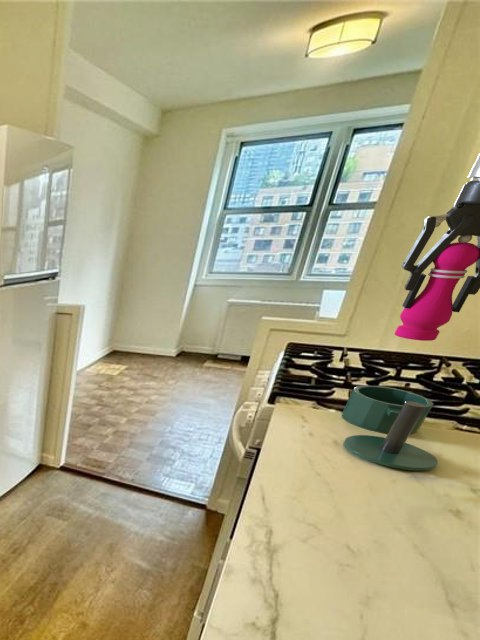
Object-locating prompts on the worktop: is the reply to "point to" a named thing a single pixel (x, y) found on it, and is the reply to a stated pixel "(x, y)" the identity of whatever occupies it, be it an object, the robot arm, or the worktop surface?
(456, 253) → the pepper mill
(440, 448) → the worktop surface
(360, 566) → the worktop surface
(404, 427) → the teal disc with rod
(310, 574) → the worktop surface
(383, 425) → the pot
